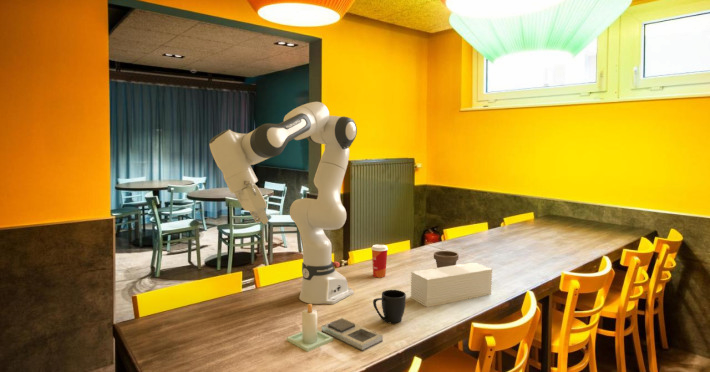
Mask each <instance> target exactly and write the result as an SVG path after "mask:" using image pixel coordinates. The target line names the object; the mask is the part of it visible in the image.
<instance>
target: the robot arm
mask: <svg viewBox="0 0 710 372" xmlns="http://www.w3.org/2000/svg"><path fill="white" fill-rule="evenodd" d="M357 127H358V126H357V124H356V122H355V120H354V119H353V118H351V117H348V116H340V115H339V116H337V115H330V111H329V109H328V106H326V104H324V103H323V102H320V101H312V102H307V103H305V104H301V105H300V106H296V108H293V109H292V110H291V111H289V112H287V114H285V115H284V117H283V121H282V122H280V123H264V124H261V125H260V126H258V127H257V128H255V129H254V130H252V131H250V132H248V133H239V132H235V131H233V130H231V129H225V130H223V131H221V132H220V133H218V134H217V135H215V136H213V137H212V138H211V139H210V141H209V149H210V153H211V155H212V157H213V160H214V161H215V164H216V166H217V167H218V169H219V170H220V171H221V172H222V175H223V180H224V183H226V185H227V188H228V190H229V192H230V193H231V194H234V197H235V198H236V199H237V201H238V202H239V204H240V205H241V208H242V209H243V210H244V211H245V212H249V213H250V215H251V216H252V218H253V220H254V221H255V222H256V223H262V224H263V225H266V224H267V223H269V219H268V217H267V213H266V210H265V209H266V208H268V204H267V202H266V200H265V198H264V195H263V194H262V192H261V190H260V189H259V187H258V185H256V183H257V182H258V181H259V179H258V177H257V176H256V174H255V172H254V170H253V167H252V165H253V166H254V165H256V164H259V163H261V162H264V161H265V160H268V159H270V158H274V157H277V156H279V155H281V154H282V152H284V149H285V148H286V146H287V145H288V143H290V141H293V140H295V141H300V140H303V139H307V141H308V142H310V143H313V144H321V145H324V152H322V154H321V157H320V161H319V163H318V165H317V169H316V172H315V175H314V178H313V184H314V186H315V188H316V189H317V191H318V192H317V197H316V199H315V198H309V197H304V198H299V199H296V200H294V201H293V202H292V203H291V205H290V207H289V217H290V218H291V220H292V221H293V222H294V223H295V225H296V227H297V229H298V232H299V235H300V238H301V242H302V259H303V261H302V264H301V273H302V281H301V289H300V292H299V296H298V299H299V300H300V302H301V301H302V302H303V303H307V304H312V305H313V304H315V305H319V304H320V305H321V304H328V305H334V304H336V303H339V302H340V301H342V300H343V299H346V298H348V297H349V296H351V295H353V294H354V292H355V291H354V289H353V288H351V287H349V286H348V285H349V284H348V279H347V278H346V277H345V276H344V275H342V274H341V273H340V272H339V271H337V270H336V268H339V267H340V266H341V264H340V262H338V261H333V260H332V251H333V250H332V245H333V244H332V242H331V240H330V239H329V238H328V236H327V235H326V233H325V231H324V230H326V231H333V230H339V229H341V228H342V227H344V225H345V223H346V220H347V211H346V208H345V206H344V205H343V202H342V200H341V191H342V185H343V181H344V178H345V175H346V172H347V168H348V165H349V158H350V147H351V146H352V144H353V143H354V141H355V139H356V137H357V133H358V128H357ZM335 267H336V268H335Z"/></svg>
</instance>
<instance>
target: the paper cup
mask: <svg viewBox="0 0 710 372" xmlns="http://www.w3.org/2000/svg"><path fill="white" fill-rule="evenodd" d="M370 249H371V254H372V255H371V259H372V262H371V263H372V277H373V278H376V277H378V279H383V278H385V277H386V273H387V272H386V271H387V259H388V250H389V248H388V245H385V244H373V245H372V247H371V248H370ZM382 277H383V278H382Z"/></svg>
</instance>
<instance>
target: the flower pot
mask: <svg viewBox="0 0 710 372" xmlns="http://www.w3.org/2000/svg"><path fill="white" fill-rule="evenodd" d="M433 259H434V260H435V263H436V268H440V267H447V266H453V265H457V261H459V253H458V252H456V251H450V250H439V251H435V252H433Z"/></svg>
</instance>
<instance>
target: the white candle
mask: <svg viewBox="0 0 710 372" xmlns="http://www.w3.org/2000/svg"><path fill="white" fill-rule="evenodd" d="M301 317H302V318H301V319H302V320H301V324H302V325H301V327H302V328H301V330H302V331H301V332H302V341H303V343H306V344H313V343H316V342H317V330H318V311H317V310H316V309H313V304H312V303H307V309H304V310H302V312H301Z"/></svg>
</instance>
